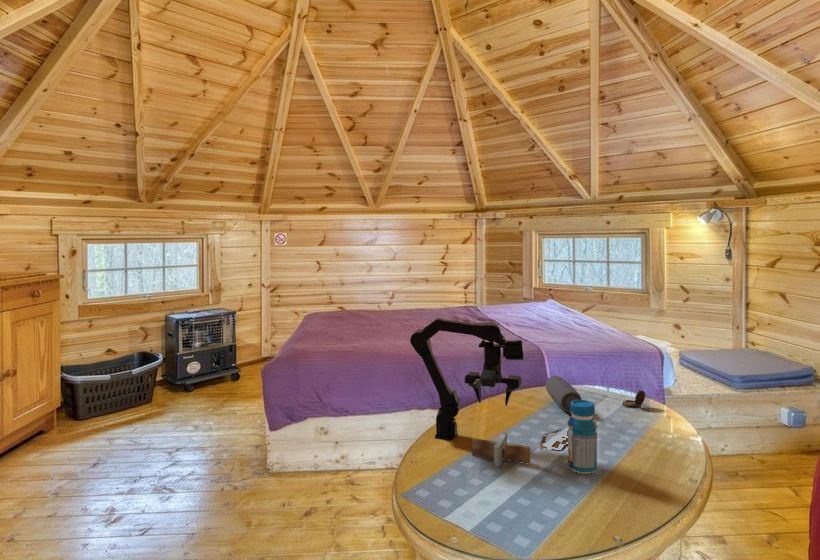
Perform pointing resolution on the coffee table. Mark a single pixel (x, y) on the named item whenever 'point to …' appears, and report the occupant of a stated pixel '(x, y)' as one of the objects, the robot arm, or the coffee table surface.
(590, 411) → the beverage bottle
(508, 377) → the robot arm
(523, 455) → the stepped wooden block
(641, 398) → the compass
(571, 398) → the bluetooth speaker
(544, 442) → the wooden fragment
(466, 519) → the coffee table surface
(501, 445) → the tapered grey plank
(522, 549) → the coffee table surface
